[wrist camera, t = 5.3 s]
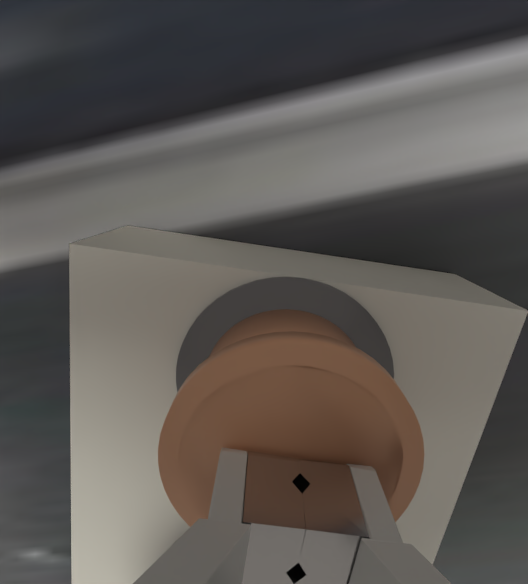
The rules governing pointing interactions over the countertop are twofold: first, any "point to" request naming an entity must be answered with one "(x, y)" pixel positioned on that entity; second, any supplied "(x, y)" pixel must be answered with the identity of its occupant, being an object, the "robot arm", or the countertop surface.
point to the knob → (288, 410)
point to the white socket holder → (206, 333)
